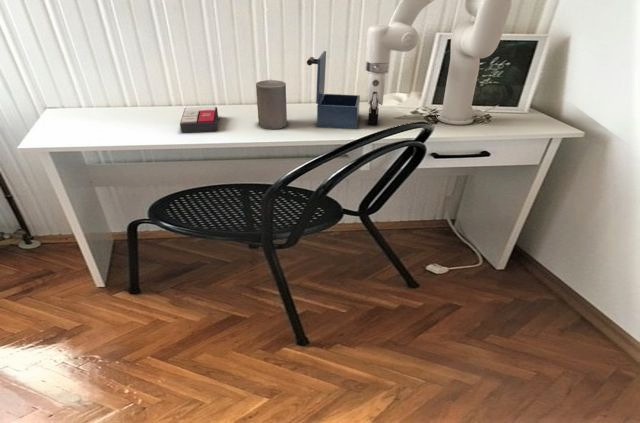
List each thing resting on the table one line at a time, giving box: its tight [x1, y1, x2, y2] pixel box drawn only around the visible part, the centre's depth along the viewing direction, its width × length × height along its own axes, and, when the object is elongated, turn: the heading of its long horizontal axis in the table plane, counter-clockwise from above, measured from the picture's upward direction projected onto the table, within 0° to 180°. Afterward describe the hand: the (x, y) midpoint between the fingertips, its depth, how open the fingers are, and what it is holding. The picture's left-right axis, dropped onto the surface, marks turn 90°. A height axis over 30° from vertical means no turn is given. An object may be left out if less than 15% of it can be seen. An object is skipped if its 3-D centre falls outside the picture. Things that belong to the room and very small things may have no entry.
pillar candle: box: [255, 78, 288, 130], centre depth 134 cm, size 10×10×15 cm
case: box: [316, 93, 361, 130], centre depth 140 cm, size 13×15×7 cm
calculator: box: [179, 106, 219, 134], centre depth 136 cm, size 11×4×15 cm
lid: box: [306, 50, 327, 105], centre depth 135 cm, size 14×15×5 cm
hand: (372, 122), depth 140 cm, fingers open, 3 cm apart
